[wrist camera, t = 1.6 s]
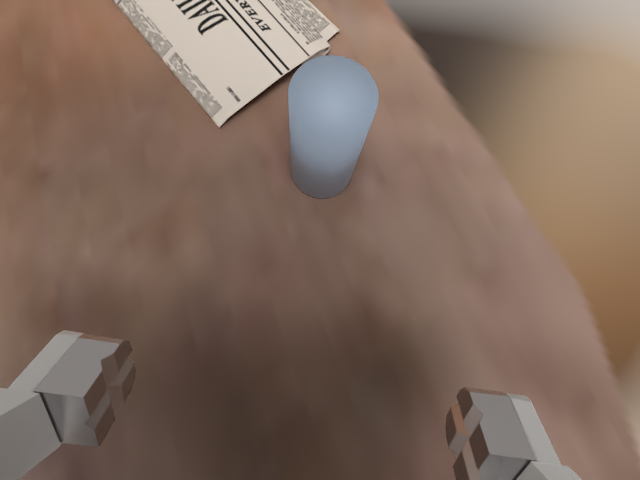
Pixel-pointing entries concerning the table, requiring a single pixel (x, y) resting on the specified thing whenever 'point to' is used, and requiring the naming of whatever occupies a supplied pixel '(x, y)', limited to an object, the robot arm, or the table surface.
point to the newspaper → (230, 44)
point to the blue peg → (328, 122)
